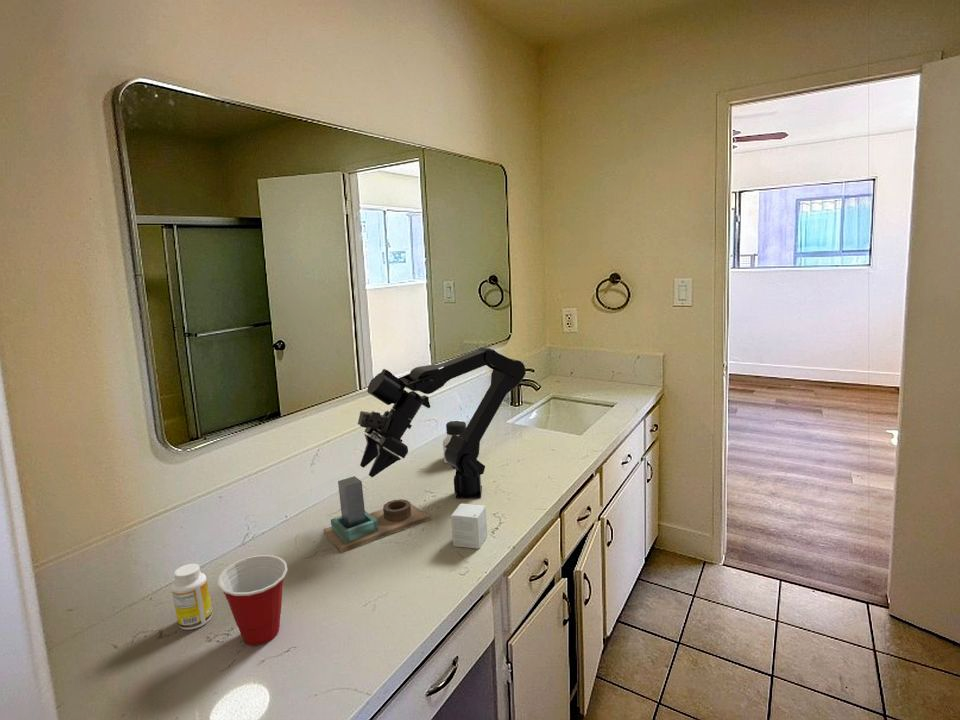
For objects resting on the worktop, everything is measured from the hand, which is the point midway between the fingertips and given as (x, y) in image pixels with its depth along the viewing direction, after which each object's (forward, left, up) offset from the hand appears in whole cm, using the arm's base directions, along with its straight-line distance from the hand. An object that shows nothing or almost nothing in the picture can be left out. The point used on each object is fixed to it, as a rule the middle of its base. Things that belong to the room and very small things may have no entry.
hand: (365, 471), depth 130 cm
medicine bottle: (-18, -40, -13) cm, 46 cm away
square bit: (+2, +5, -12) cm, 13 cm away
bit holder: (-2, +2, -13) cm, 13 cm away
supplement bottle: (+23, +35, -13) cm, 44 cm away
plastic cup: (+9, +39, -13) cm, 42 cm away
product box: (-24, +10, -13) cm, 30 cm away
